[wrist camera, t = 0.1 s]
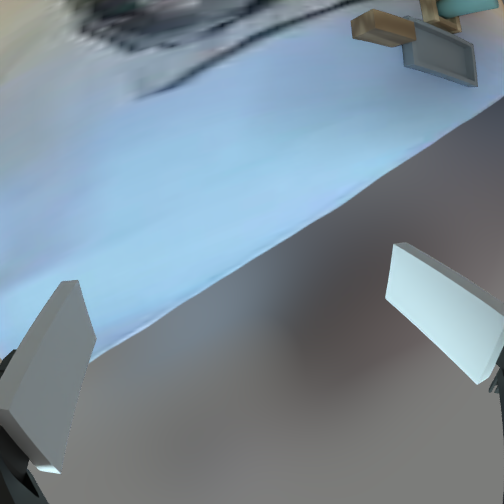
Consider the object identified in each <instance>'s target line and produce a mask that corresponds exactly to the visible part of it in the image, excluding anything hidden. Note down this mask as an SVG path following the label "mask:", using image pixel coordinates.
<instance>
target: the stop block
mask: <svg viewBox="0 0 504 504" xmlns="http://www.w3.org/2000/svg"><path fill="white" fill-rule="evenodd" d="M351 27H352V37H353V39H358V40H363V41H367V42H372V43H376V44H380V45H384V46H388V47H395V46H398V45H402V44H405V43H409V42H412V41H416V33H415V26H414V22H412V21H409V20H407V19H404V18H401V17H398V16H395V15H392V14H389V13H385V12H382V11H379V10H375V9H372V10H370V11H368V12H366V13H364V14H362V15H360V16H359V17H357V18H355V19H353V20H351Z"/></svg>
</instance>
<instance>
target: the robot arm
mask: <svg viewBox="0 0 504 504" xmlns="http://www.w3.org/2000/svg"><path fill="white" fill-rule="evenodd" d="M385 298H386V299H387V300H388V301H389V302H390V303H391V304H392V305H393V306H394V307H396V308H397V309H398V310H399V311H400V312H401V313H402V314H403V315H404V316H406V317H407V318H408V319H409V320H410V321H411V322H412V323H413V324H414V325H416V326H417V327H418V328H419V329H420V330H421V331H422V332H423V333H424V334H425V335H426V336H427V337H428V338H429V339H430V340H432V341H433V342H434V343H435V344H436V345H437V346H438V347H439V348H440V349H441V350H442V351H443V352H444V353H445V354H446V355H447V356H448V357H449V358H450V359H451V360H452V361H454V362H455V363H456V364H457V365H458V366H459V367H460V368H461V369H462V370H463V371H464V372H465V373H466V374H467V375H468V376H469V377H470V378H471V379H472V380H473V381H474V382H475V383H476V384H479V383H481V382H482V381H484V380H485V379H487V378H488V377H489V376H490V374H491V372H492V370H493V368H494V366H495V364H497V365H498V366H499V367H500V369H499V371H498V373H497V375H496V376H495V378H494V380H493V382H492V384H491V386H490V388H489V392H492V390H493V388H494V386H495V385H498V386H497V388H496V390H495V393H499V394H500V403H501V411H502V422H503V436H504V303H503V302H502V301H500V300H499V299H497V298H496V297H494V296H493V295H491V294H490V293H488V292H487V291H485V290H483V289H482V288H481V287H479V286H478V285H476V284H475V283H473V282H471V281H470V280H468V279H467V278H465V277H464V276H462V275H460V274H459V273H457V272H456V271H454V270H452V269H451V268H449V267H447V266H446V265H444V264H443V263H441V262H439V261H437V260H436V259H434V258H432V257H431V256H429V255H427V254H426V253H424V252H422V251H421V250H419V249H417V248H415V247H414V246H412V245H410V244H408V243H406V242H405V243H397V244H394V245H393V252H392V259H391V267H390V273H389V279H388V286H387V291H386V297H385ZM95 342H96V336H95V333H94V330H93V327H92V324H91V321H90V318H89V315H88V312H87V309H86V305H85V302H84V299H83V295H82V292H81V288H80V285H79V281H78V280H72V281H62V282H61V283H60V284H59V286H58V287H57V289H56V290H55V291H54V293H53V294H52V296H51V297H50V299H49V300H48V302H47V303H46V304H45V306H44V307H43V309H42V310H41V312H40V313H39V315H38V316H37V318H36V319H35V321H34V323H33V324H32V326H31V327H30V329H29V330H28V332H27V334H26V335H25V337H24V338H23V340H22V342H21V343H20V345H19V347H18V348H17V350H13V351H11V352H10V353H9V354H8V355H7V356H6V357H5V358H4V359H3V361H2V363H1V364H0V504H49V503H48V502H47V500H46V498H45V497H44V495H43V493H42V491H41V490H40V488H39V486H38V485H37V483H36V481H35V479H34V477H33V475H32V474H31V473H30V471H29V470H28V469H27V466H28V462H29V460H30V461H31V462H32V463H33V464H34V465H35V466H36V467H37V468H38V469H39V470H41V471H46V472H52V473H59V474H61V470H62V465H63V460H64V455H65V450H66V446H67V441H68V437H69V432H70V428H71V424H72V419H73V416H74V412H75V408H76V404H77V400H78V397H79V393H80V390H81V386H82V383H83V380H84V376H85V373H86V370H87V366H88V363H89V360H90V357H91V354H92V351H93V348H94V345H95ZM503 504H504V494H503Z"/></svg>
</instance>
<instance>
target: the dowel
mask: <svg viewBox="0 0 504 504" xmlns="http://www.w3.org/2000/svg"><path fill="white" fill-rule="evenodd" d="M436 5H437V10H438V15H439V16H440V17H442V18H444V19H449V18H453V17H457V16H461V15H465V14H470V13H474V12H479V11H484V10H490V9H495V8H498V7H499V4H498V0H440V1H437V2H436Z"/></svg>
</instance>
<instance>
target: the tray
mask: <svg viewBox="0 0 504 504" xmlns="http://www.w3.org/2000/svg"><path fill="white" fill-rule="evenodd" d="M403 18H404V19H407V20H409V21H412V22H414V26H415V33H416V41H412V42H409V43H405V44H402V49H403V59H404V67H408V68H412V69H415V70H419V71H422V72H426V73H429V74H432V75H435V76H438V77H441V78H444V79H447V80H450V81H453V82H456V83H459V84H461V85H464V86H467V87H478V82H477V72H476V62H475V55H474V48H473V44H471V43H469V42H467V41H465V40H463V39H461V38H459V37H457V36H455V35H453V34H451V33H449V32H447V31H445V30H442V29H440V28H438V27H435V26H433V25H431V24H428V23H426V22H423V21H421V20H418V19H416V18H413V17H410V16H406V17H403Z"/></svg>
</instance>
